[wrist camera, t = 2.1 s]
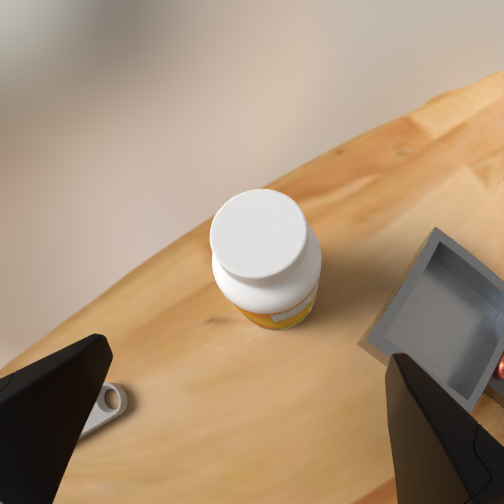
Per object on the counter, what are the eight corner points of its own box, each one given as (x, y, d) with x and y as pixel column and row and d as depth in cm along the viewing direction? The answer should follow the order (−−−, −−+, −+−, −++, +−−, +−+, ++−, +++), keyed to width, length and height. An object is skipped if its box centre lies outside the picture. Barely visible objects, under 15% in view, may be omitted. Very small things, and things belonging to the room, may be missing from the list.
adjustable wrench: (121, 375, 21) (109, 375, 19) (159, 448, 18) (149, 452, 16) (-10, 446, 19) (-20, 446, 17) (11, 494, 16) (1, 496, 14)
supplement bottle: (226, 279, 22) (174, 212, 13) (291, 243, 22) (281, 156, 13) (261, 345, 20) (226, 322, 11) (331, 305, 20) (352, 250, 11)
